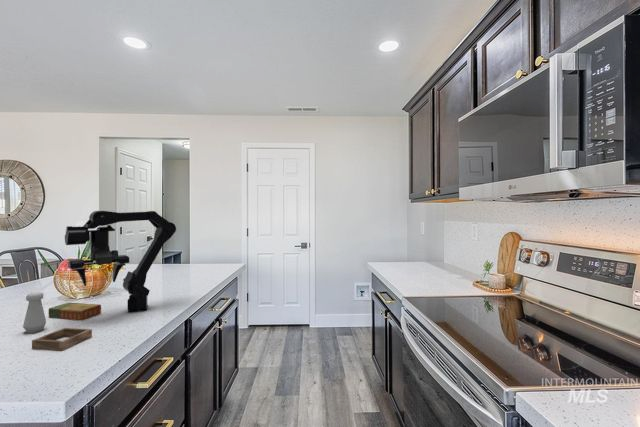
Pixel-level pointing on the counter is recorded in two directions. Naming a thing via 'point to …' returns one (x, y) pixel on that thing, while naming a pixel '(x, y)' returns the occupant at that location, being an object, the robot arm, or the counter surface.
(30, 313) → the salt shaker
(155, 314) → the counter surface
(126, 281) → the robot arm
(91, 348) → the counter surface
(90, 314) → the carton
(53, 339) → the walnut frame
